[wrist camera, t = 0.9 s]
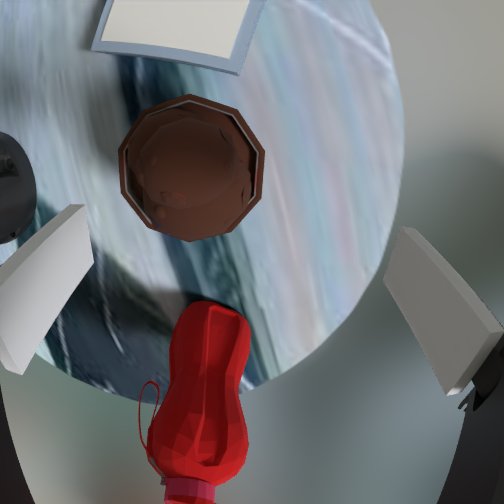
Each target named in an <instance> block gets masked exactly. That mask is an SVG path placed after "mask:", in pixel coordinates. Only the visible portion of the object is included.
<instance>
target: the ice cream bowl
mask: <svg viewBox="0 0 504 504" xmlns="http://www.w3.org/2000/svg"><path fill="white" fill-rule="evenodd" d="M118 157H119V174H120V188H121V194H122V195H123V197H124V198H125V199H126V201H127V202H128V203H129V205H130V206H131V207H132V208H133V210H134V211H135V212H136V214H137V215H138V216H139V217H140V219H141V220H142V221H143V222H144V224H145V225H146V226H147V227H148V228H150V229H153V230H155V231H158V232H161V233H163V234H166V235H168V236H172V237H175V238H178V239H181V240H184V241H187V242H192V241H196V240H202V239H204V238H208V237H212V236H217V235H221V234H225V233H229V232H232V231H233V230H234V229H235V227H236V226H237V225H238V224H239V223H240V222H241V221H242V219H243V218H244V217H245V216H246V215H247V214H248V213H249V212H250V210H251V209H252V208H253V207H254V206H255V205H256V204H257V203H258V202H259V200H260V199H261V196H262V183H263V171H264V158H265V150H264V149H263V147H262V146H261V144H260V143H259V141H258V140H257V138H256V137H255V135H254V134H253V132H252V131H251V129H250V128H249V126H248V125H247V123H246V122H245V120H244V119H243V117H242V116H241V114H240V113H239V111H238V110H237V109H234V108H231V107H229V106H226V105H223V104H220V103H217V102H214V101H211V100H208V99H205V98H202V97H198V96H195V95H192V94H187V95H184V96H181V97H178V98H175V99H172V100H169V101H166V102H164V103H161V104H158V105H156V106H153V107H150V108H148V109H145V110H143V111H142V113H141V114H140V116H139V117H138V119H137V120H136V122H135V123H134V125H133V126H132V128H131V129H130V131H129V133H128V134H127V136H126V137H125V139H124V140H123V142H122V144H121V145H120V147H119V149H118Z"/></svg>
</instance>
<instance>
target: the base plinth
mask: <svg viewBox="0 0 504 504" xmlns="http://www.w3.org/2000/svg"><path fill="white" fill-rule="evenodd" d="M265 1H266V0H107V1H106V4H105V7H104V9H103V12H102V15H101V18H100V21H99V24H98V27H97V30H96V34H95V37H94V40H93V44H92V47H91V51H96V52H101V53H106V54H114V55H125V56H134V57H143V58H150V59H158V60H164V61H170V62H176V63H182V64H187V65H193V66H198V67H203V68H207V69H212V70H216V71H221V72H225V73H229V74H233V75H237V76H239V75H240V72H241V69H242V66H243V63H244V60H245V57H246V54H247V51H248V48H249V45H250V42H251V39H252V36H253V34H254V31H255V28H256V25H257V22H258V20H259V17H260V14H261V12H262V9H263V6H264V3H265Z"/></svg>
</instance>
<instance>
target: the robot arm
mask: <svg viewBox="0 0 504 504" xmlns="http://www.w3.org/2000/svg"><path fill="white" fill-rule="evenodd" d="M35 209H36V184H35V178H34V174H33V170H32V167H31V164H30V162H29V159H28V157H27V155H26V154H25V152H24V150H23V149H22V147H21V146H20V145H19V144H18V143H17V142H16V141H15V140H14V139H13V138H12V137H10V136H8V135H6V134H3V133H0V245H1V244H4V243H8V242H11V241H13V240H14V239H16V238H17V237H18V236H19V235H21V234H22V233H23V232H24V231H25V230H26V229H27V228H28V227H29V225H30V224H31V222H32V220H33V217H34V213H35ZM93 263H94V260H93V254H92V249H91V243H90V237H89V231H88V224H87V217H86V209H85V205H76V204H70V205H69V206H68V207H66V208H65V209H64V210H63V211H61V212H60V213H59V214H58V215H56V216H55V217H54V218H53V219H52V220H50V221H49V222H48V223H47V224H46V225H45V226H43V227H42V228H41V229H40V230H39V231H38V232H37V233H35V234H34V235H33V236H32V237H31V238H30V239H29V240H28V241H27V242H25V243H24V244H23V245H22V246H21V247H20V248H19V249H18V250H17V251H16V252H15V253H14V254H13V255H12V256H11V257H10V258H9V259H8V260H7V261H5V262H4V263H3V264H2V265H0V360H1V362H2V364H3V365H4V367H5V368H6V369H7V370H9V371H12V372H15V373H17V374H20V375H23V373H24V371H25V369H26V368H27V366H28V364H29V362H30V360H31V359H32V357H33V355H34V353H35V352H36V350H37V348H38V346H39V345H40V343H41V341H42V340H43V338H44V336H45V335H46V333H47V331H48V330H49V328H50V327H51V325H52V323H53V322H54V320H55V319H56V317H57V315H58V314H59V312H60V311H61V309H62V308H63V306H64V305H65V303H66V302H67V300H68V299H69V297H70V296H71V294H72V293H73V291H74V290H75V288H76V287H77V286H78V284H79V283H80V281H81V280H82V278H83V277H84V276H85V274H86V273H87V271H88V270H89V269H90V267H91V266H92V265H93ZM383 282H384V283H385V285H386V287H387V288H388V290H389V291H390V293H391V295H392V296H393V298H394V300H395V302H396V303H397V305H398V307H399V309H400V310H401V312H402V314H403V315H404V317H405V319H406V321H407V322H408V324H409V326H410V328H411V329H412V331H413V333H414V335H415V336H416V339H417V340H418V342H419V344H420V346H421V348H422V350H423V352H424V353H425V355H426V357H427V359H428V361H429V363H430V365H431V367H432V369H433V371H434V373H435V375H436V377H437V379H438V381H439V383H440V385H441V387H442V389H443V391H444V393H445V395H446V396H448V395H452V394H456V393H460V392H462V391H463V390H464V388H465V387H466V386H467V385H468V383H469V382H470V381H471V380H472V382H473V384H474V385H475V387H474V388H473V389H472V390H471V392H470V393H469V394H468V395H467V396H466V398H465V399H464V400H463V401H462V402H461V403H460V405H459V407H458V409H461V408H462V407H463V405H464V404H466V403H468V405H467V407H466V408H465V409H464V411H465V412H466V413H465V418H464V422H463V427H462V430H461V434H460V438H459V441H458V445H457V449H456V452H455V455H454V459H453V462H452V464H451V468H450V471H449V473H448V476H447V479H446V482H445V484H444V487H443V490H442V492H441V495H440V497H439V500H438V502H437V504H504V328H503V326H502V325H501V324H500V322H499V321H498V320H497V319H496V317H495V316H494V315H493V314H492V312H490V310H489V309H488V307H487V306H486V305H485V304H484V303H483V301H482V300H481V299H480V298H479V296H478V295H477V294H475V292H474V291H473V290H472V289H471V288H470V287H469V285H468V284H467V283H466V282H465V281H464V280H463V279H462V277H461V276H460V275H459V274H458V273H457V272H456V271H455V270H454V269H453V267H452V266H451V265H450V264H449V263H448V262H447V261H446V260H445V259H444V258H443V257H442V256H441V255H440V254H439V253H438V252H437V251H436V249H434V247H433V246H432V245H431V244H430V243H429V242H428V241H427V240H426V239H425V238H424V237H423V236H422V235H421V234H420V233H419V232H418V231H417V230H416V229H414V228H408V227H400V230H399V233H398V236H397V239H396V243H395V246H394V249H393V252H392V255H391V258H390V261H389V264H388V267H387V270H386V273H385V276H384V279H383ZM0 504H35V502H34V500H33V498H32V495H31V493H30V490H29V488H28V485H27V483H26V480H25V478H24V475H23V472H22V469H21V466H20V463H19V460H18V457H17V454H16V451H15V447H14V444H13V440H12V437H11V433H10V429H9V425H8V421H7V417H6V412H5V408H4V403H3V398H2V392H1V386H0Z"/></svg>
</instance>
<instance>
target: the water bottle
mask: <svg viewBox="0 0 504 504" xmlns="http://www.w3.org/2000/svg"><path fill="white" fill-rule="evenodd" d="M250 338H251V330H250V327H249V324H248V322H247V320H246V318H245V317H243V316H242V315H241V314H239V313H238V312H236V311H235V310H231V309H227V308H225V307H223V306H221V305H219V304H217V303H215V302H209V301H197V302H193V303H192V304H190V305H189V306H188V307H187V308H186V309H185V310H184V311H183V312H182V314H181V316H180V318H179V320H178V322H177V324H176V326H175V329H174V332H173V334H172V339H171V343H170V347H169V366H170V385H169V389H168V392H167V394H166V396H165V399H164V400H163V402H162V404H161V406H160V409H159V410H158V412H157V414H156V416H155V418H154V414H155V411H156V407H157V403H158V399H159V387H158V385H157V384H156V383H155V382H153V381H149V382H147V383H146V384H145V385H144V387H145V386H146V385H147V384H149V383H152V384H154V385H155V386H156V388H157V390H158V397H157V403H156V407H155V410H154V414H153V417H152V421H151V425H150V427H149V429H148V436H147V447H146V446H145V445H144V443H143V440H142V436H141V428H140V401H141V395H142V391H143V389H142V391H141V395H140V400H139V432H140V439H141V442H142V444H143V446H144V448H145V450H146V452H147V457H148V461H149V463H150V464H151V465H152V467H153V468H154V469H155V470H156V472H157V473H158V474H159V475H160V476H161V478H162V480H161V485H166V490H165V498H164V502H165V504H215V503H214V495H215V486H218V485H220V484H222V483H225V482H226V481H228V480H229V479H231V478H232V477H233V476H235V475H237V473H238V472H239V470H240V469H241V468H242V466H243V465H244V463H245V460H246V455H247V451H248V446H249V442H248V433H247V427H246V423H245V419H244V415H243V412H242V408H241V404H240V400H239V396H238V386H239V383H240V380H241V377H242V374H243V371H244V368H245V365H246V362H247V359H248V356H249V352H250ZM144 387H143V388H144ZM153 418H154V419H153ZM163 479H164V480H163Z"/></svg>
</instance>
